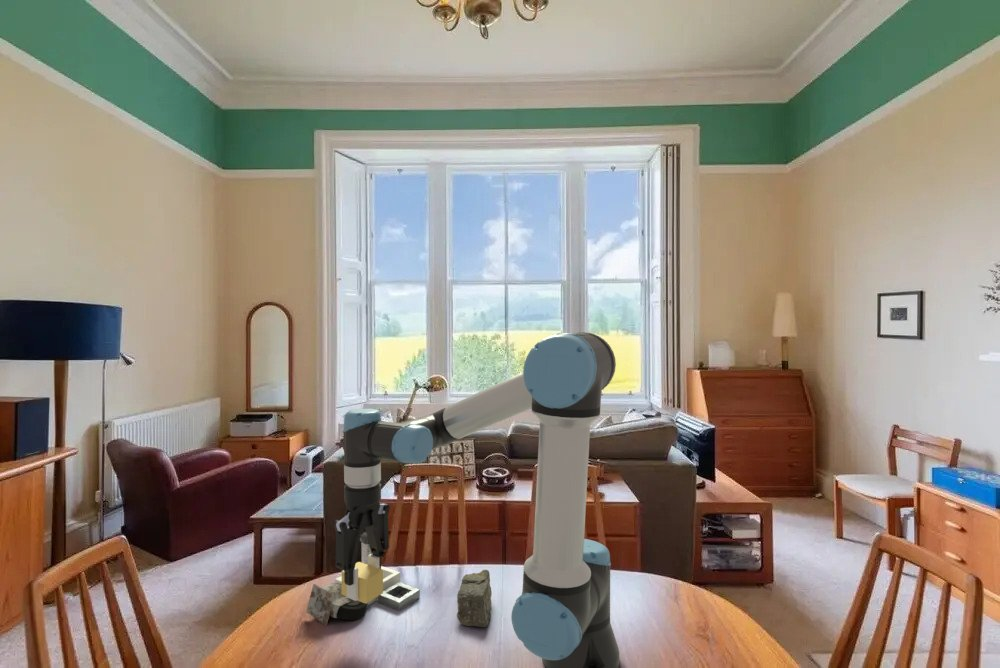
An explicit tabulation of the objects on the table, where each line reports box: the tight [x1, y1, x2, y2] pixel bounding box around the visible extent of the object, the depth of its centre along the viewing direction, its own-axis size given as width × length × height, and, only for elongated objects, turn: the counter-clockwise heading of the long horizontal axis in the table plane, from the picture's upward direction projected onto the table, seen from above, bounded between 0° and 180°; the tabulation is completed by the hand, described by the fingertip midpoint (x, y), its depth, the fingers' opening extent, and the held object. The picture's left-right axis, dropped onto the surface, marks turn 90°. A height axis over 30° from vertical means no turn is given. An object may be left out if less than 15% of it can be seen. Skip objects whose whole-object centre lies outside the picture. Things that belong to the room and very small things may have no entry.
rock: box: [456, 569, 492, 628], centre depth 121 cm, size 17×7×10 cm
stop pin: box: [360, 531, 373, 565], centre depth 132 cm, size 4×4×13 cm
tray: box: [334, 565, 401, 607], centre depth 132 cm, size 11×11×4 cm
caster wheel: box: [306, 582, 369, 626], centre depth 121 cm, size 7×11×10 cm
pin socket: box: [377, 581, 421, 612], centre depth 127 cm, size 7×7×2 cm
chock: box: [341, 561, 383, 604], centre depth 112 cm, size 7×5×5 cm
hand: (363, 591), depth 111 cm, fingers closed on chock, 5 cm apart
